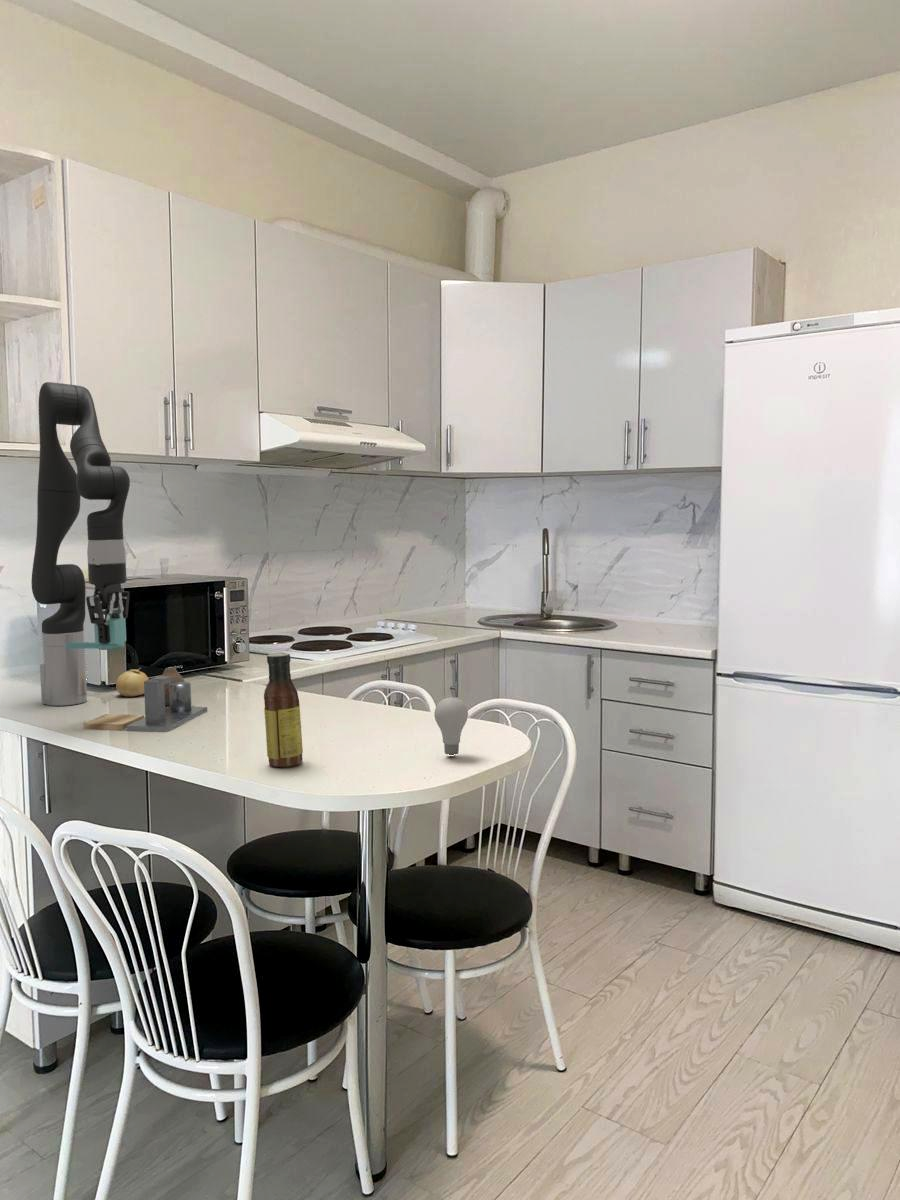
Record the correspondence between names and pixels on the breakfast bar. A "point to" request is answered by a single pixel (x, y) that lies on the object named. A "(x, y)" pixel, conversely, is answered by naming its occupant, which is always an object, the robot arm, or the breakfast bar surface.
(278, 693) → the sauce bottle
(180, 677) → the vase
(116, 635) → the teal block with handle
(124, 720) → the wooden coaster
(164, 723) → the post
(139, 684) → the onion
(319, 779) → the breakfast bar surface
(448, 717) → the lightbulb
